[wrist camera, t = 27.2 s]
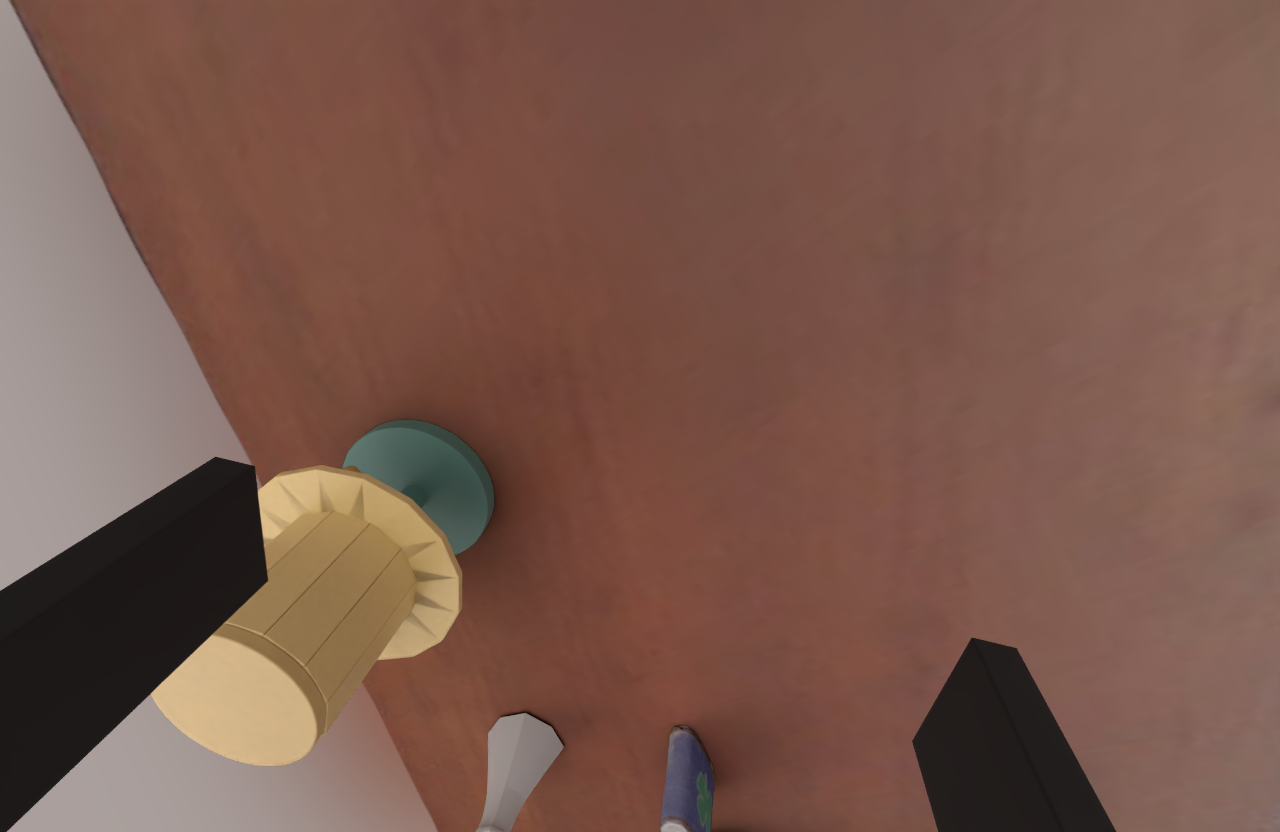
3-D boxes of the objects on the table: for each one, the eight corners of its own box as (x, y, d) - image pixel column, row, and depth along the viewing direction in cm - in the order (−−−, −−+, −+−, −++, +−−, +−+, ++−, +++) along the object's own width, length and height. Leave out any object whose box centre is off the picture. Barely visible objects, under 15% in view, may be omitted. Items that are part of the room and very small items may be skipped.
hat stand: (327, 433, 48) (84, 611, 30) (462, 406, 45) (283, 585, 27) (388, 555, 53) (209, 774, 35) (515, 538, 50) (390, 765, 32)
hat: (205, 485, 39) (28, 600, 29) (407, 449, 36) (283, 565, 26) (310, 660, 45) (190, 806, 35) (494, 643, 41) (418, 799, 31)
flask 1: (526, 701, 58) (487, 805, 49) (577, 746, 60) (549, 855, 51) (476, 728, 61) (431, 831, 52) (527, 771, 62) (492, 878, 53)
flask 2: (666, 725, 57) (652, 847, 47) (697, 722, 56) (689, 845, 46) (692, 791, 60) (684, 916, 50) (721, 789, 59) (719, 916, 50)
